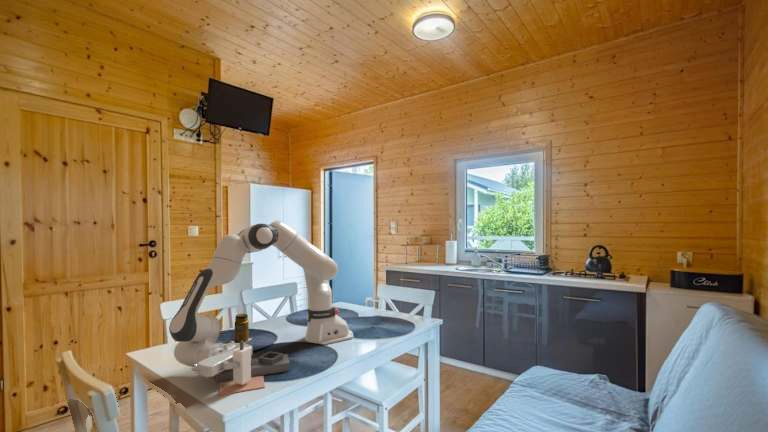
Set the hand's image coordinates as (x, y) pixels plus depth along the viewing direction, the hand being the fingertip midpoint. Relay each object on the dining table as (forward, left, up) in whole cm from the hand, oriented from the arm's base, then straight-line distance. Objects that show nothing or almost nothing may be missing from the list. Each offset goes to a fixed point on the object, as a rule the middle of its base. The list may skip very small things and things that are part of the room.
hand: (244, 362), depth 124 cm
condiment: (+2, -47, -8) cm, 48 cm away
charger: (+1, -1, -7) cm, 7 cm away
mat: (+1, -1, -8) cm, 8 cm away
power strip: (-3, -11, -8) cm, 14 cm away
